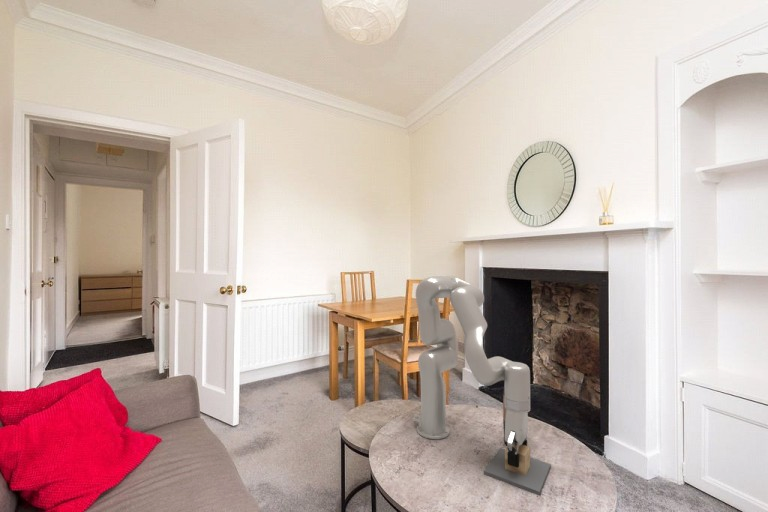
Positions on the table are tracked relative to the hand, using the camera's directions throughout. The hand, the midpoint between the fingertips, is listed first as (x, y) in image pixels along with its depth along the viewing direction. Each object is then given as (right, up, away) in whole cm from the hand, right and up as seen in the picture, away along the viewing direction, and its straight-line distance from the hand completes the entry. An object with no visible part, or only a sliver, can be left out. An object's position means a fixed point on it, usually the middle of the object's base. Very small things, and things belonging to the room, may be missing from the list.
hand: (517, 458), depth 105 cm
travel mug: (+5, -4, +15) cm, 16 cm away
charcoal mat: (0, -4, 0) cm, 4 cm away
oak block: (0, -3, 0) cm, 3 cm away
